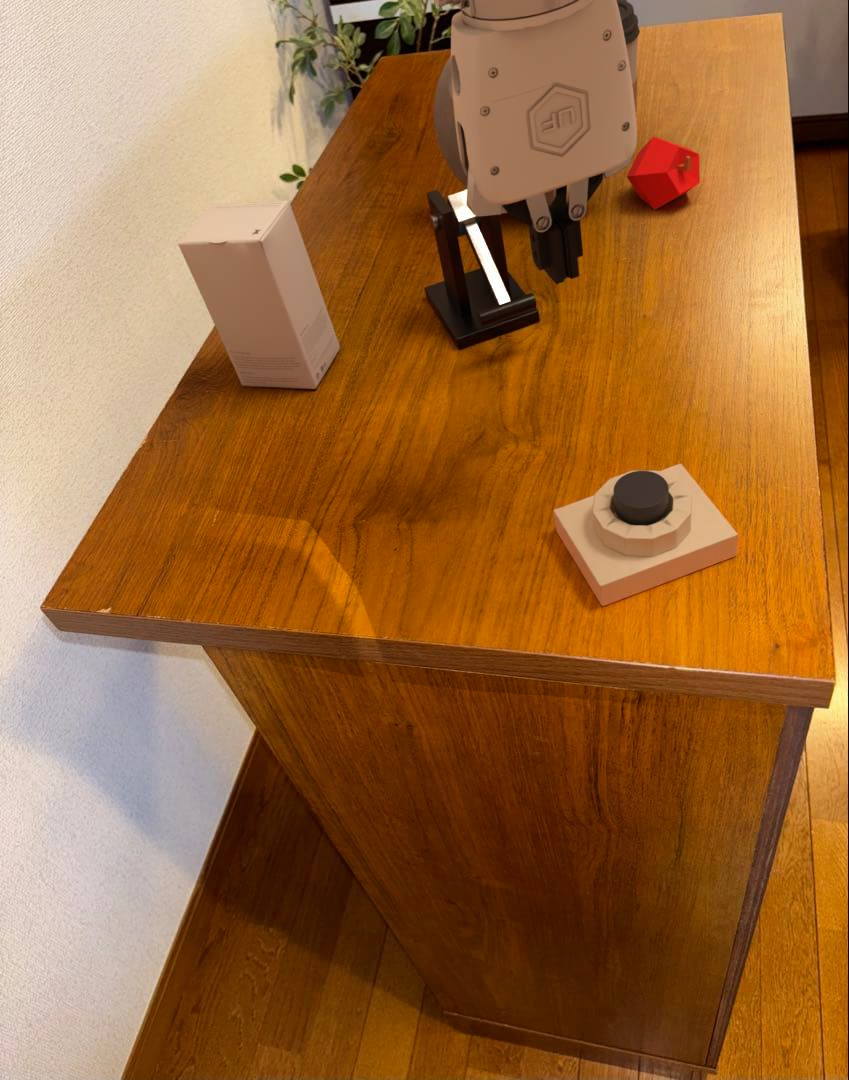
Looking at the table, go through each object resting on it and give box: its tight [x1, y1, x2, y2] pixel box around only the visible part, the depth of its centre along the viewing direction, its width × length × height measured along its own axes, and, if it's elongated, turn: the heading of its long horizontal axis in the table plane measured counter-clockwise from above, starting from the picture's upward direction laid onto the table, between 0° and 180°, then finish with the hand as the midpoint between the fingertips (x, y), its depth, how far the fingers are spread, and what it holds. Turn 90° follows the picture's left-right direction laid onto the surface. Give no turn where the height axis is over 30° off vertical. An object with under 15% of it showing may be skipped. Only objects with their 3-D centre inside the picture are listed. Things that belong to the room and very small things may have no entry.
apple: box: [626, 135, 701, 211], centre depth 98 cm, size 7×7×8 cm
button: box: [614, 470, 669, 526], centre depth 66 cm, size 4×4×2 cm
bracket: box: [424, 189, 541, 350], centre depth 89 cm, size 10×8×12 cm
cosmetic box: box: [177, 200, 341, 390], centre depth 87 cm, size 8×7×16 cm
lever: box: [446, 188, 538, 327], centre depth 85 cm, size 12×5×2 cm, turn 18°
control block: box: [553, 463, 739, 607], centre depth 68 cm, size 10×8×4 cm
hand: (559, 270), depth 66 cm, fingers closed
